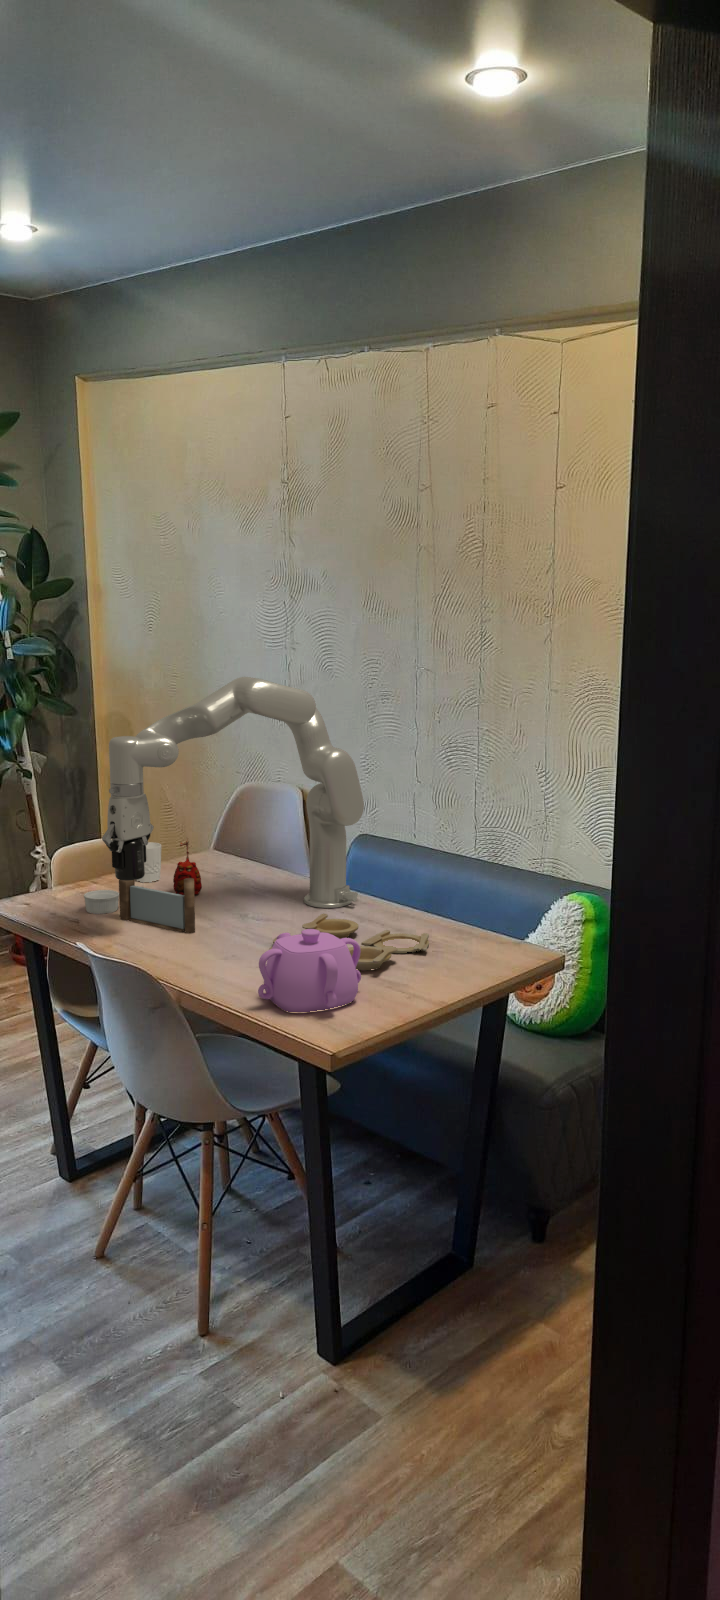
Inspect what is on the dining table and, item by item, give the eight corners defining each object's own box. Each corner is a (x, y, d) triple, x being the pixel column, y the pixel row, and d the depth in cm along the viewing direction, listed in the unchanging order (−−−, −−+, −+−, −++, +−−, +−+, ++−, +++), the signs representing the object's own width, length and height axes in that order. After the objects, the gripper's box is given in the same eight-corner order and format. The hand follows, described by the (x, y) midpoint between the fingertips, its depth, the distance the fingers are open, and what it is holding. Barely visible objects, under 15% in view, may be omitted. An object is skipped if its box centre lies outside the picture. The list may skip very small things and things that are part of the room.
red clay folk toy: (171, 897, 298) (170, 842, 295) (176, 890, 305) (175, 836, 302) (199, 897, 298) (198, 842, 295) (204, 890, 305) (203, 836, 302)
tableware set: (443, 943, 262) (444, 927, 261) (395, 982, 236) (395, 964, 235) (310, 924, 276) (310, 908, 275) (250, 958, 250) (250, 941, 249)
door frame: (198, 931, 268) (197, 878, 266) (189, 934, 266) (188, 881, 264) (128, 916, 280) (126, 865, 278) (120, 919, 278) (118, 868, 275)
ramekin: (88, 905, 290) (87, 889, 289) (122, 905, 290) (122, 889, 289) (81, 915, 281) (80, 898, 280) (116, 915, 281) (115, 898, 281)
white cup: (138, 875, 320) (137, 841, 318) (165, 876, 319) (164, 842, 317) (130, 882, 312) (129, 848, 310) (157, 883, 311) (156, 848, 309)
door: (190, 926, 270) (189, 894, 269) (183, 929, 268) (182, 896, 267) (138, 915, 279) (137, 884, 278) (130, 917, 277) (129, 886, 275)
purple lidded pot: (333, 1023, 212) (334, 950, 210) (237, 1006, 220) (236, 936, 218) (371, 990, 230) (372, 923, 227) (281, 976, 238) (280, 911, 235)
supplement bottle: (135, 872, 267) (134, 823, 265) (149, 878, 262) (148, 828, 260) (109, 876, 263) (107, 826, 261) (123, 882, 258) (121, 831, 256)
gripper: (112, 797, 250) (114, 874, 253) (164, 786, 264) (166, 859, 267) (87, 793, 253) (90, 870, 257) (141, 783, 268) (143, 855, 271)
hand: (129, 864), depth 262 cm, fingers closed on supplement bottle, 6 cm apart
